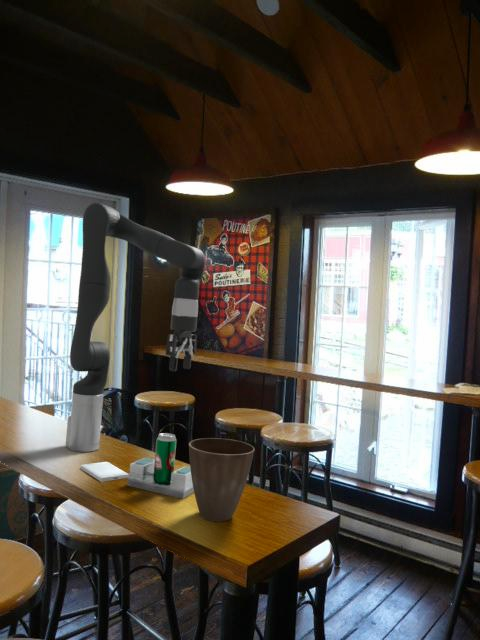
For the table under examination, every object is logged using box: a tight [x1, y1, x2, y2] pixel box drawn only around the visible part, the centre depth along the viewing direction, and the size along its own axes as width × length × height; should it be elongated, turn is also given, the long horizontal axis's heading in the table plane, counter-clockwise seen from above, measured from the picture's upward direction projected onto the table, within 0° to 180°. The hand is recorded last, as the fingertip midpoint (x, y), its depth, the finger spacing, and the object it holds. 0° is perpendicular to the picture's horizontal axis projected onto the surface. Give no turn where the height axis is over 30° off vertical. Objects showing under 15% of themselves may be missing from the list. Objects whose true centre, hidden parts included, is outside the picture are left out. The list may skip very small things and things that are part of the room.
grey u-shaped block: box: [127, 457, 194, 500], centre depth 140 cm, size 16×8×6 cm, turn 68°
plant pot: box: [188, 437, 255, 522], centre depth 124 cm, size 15×15×16 cm
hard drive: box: [80, 461, 129, 483], centre depth 148 cm, size 2×8×12 cm
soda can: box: [153, 432, 177, 484], centre depth 140 cm, size 5×5×12 cm
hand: (179, 369), depth 160 cm, fingers open, 8 cm apart
